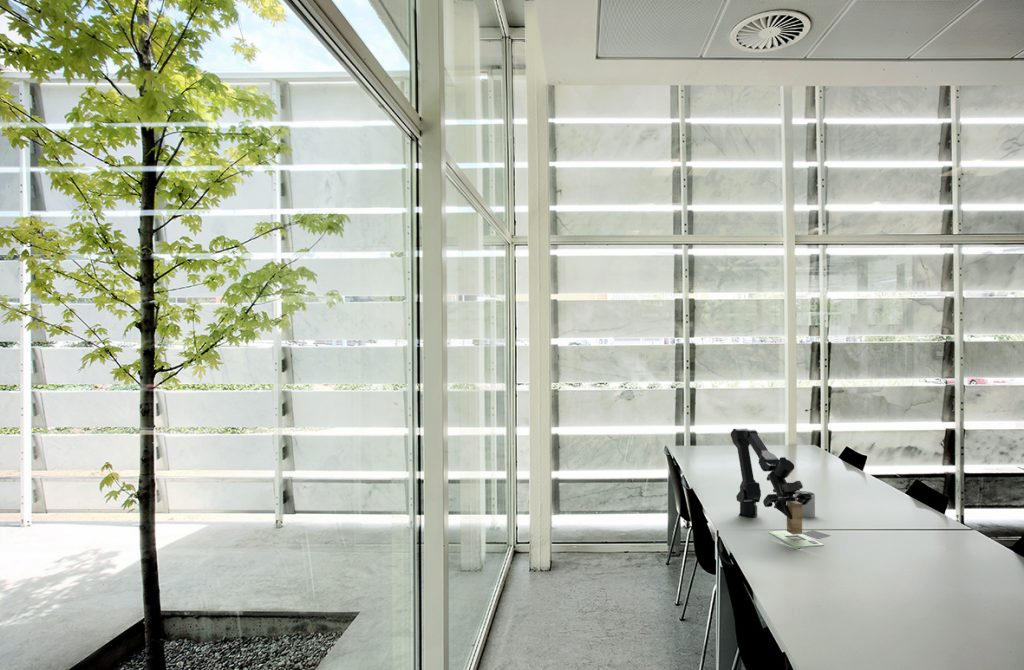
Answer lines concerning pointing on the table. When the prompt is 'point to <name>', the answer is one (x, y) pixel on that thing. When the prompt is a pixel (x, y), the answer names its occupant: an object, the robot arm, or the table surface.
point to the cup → (808, 505)
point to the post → (794, 517)
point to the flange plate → (795, 544)
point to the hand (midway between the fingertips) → (796, 518)
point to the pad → (816, 534)
